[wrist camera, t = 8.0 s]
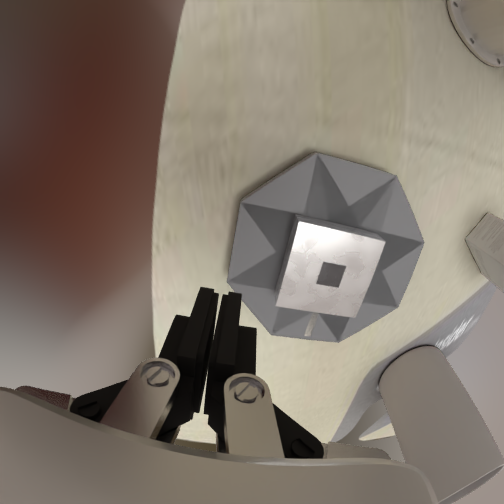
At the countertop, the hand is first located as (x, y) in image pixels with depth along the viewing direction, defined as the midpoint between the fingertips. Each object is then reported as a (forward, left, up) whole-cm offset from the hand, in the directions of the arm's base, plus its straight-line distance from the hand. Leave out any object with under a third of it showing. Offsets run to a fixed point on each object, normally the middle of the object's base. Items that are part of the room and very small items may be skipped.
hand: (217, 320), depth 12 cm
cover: (-10, +4, -18) cm, 20 cm away
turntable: (-10, +4, -19) cm, 22 cm away
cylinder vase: (-32, +22, -20) cm, 44 cm away
